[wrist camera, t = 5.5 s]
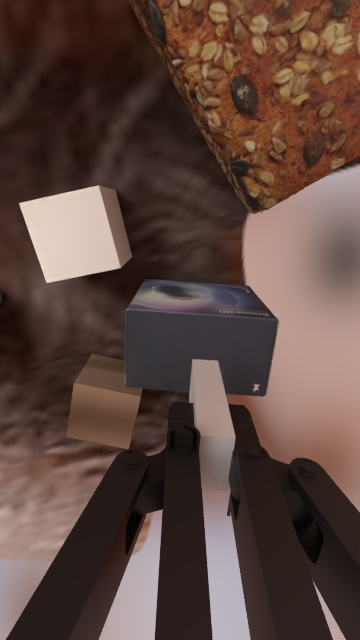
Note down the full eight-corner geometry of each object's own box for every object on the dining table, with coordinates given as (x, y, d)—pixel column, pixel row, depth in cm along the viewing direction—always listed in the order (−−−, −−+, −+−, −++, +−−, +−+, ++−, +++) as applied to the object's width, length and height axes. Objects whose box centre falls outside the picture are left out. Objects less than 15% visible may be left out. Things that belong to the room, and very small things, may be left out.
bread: (347, 146, 27) (436, 113, 17) (237, 217, 29) (263, 222, 19) (240, -112, 22) (284, -356, 12) (115, -4, 24) (70, -142, 14)
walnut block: (92, 353, 34) (73, 382, 28) (147, 365, 34) (140, 396, 28) (84, 400, 35) (66, 437, 30) (137, 411, 36) (128, 449, 30)
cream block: (51, 203, 29) (19, 203, 23) (115, 189, 28) (98, 185, 22) (71, 268, 31) (46, 283, 25) (132, 256, 30) (120, 268, 24)
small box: (251, 281, 31) (284, 316, 21) (243, 342, 33) (269, 401, 23) (142, 274, 31) (123, 306, 21) (141, 336, 33) (123, 392, 23)
